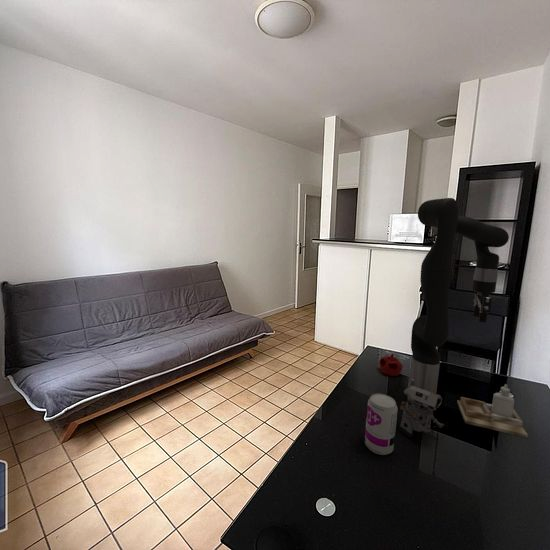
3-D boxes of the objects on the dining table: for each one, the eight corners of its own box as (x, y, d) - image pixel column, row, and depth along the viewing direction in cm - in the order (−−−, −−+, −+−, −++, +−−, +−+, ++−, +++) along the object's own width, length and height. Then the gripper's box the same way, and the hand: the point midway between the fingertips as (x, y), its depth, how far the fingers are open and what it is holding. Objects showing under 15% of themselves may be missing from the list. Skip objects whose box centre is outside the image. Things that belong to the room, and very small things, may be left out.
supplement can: (375, 459, 81) (379, 410, 79) (359, 438, 89) (362, 394, 86) (399, 454, 83) (404, 406, 81) (381, 434, 91) (386, 390, 89)
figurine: (426, 451, 85) (432, 404, 82) (395, 427, 95) (399, 385, 92) (446, 441, 89) (452, 397, 86) (413, 419, 99) (418, 379, 96)
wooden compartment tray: (465, 423, 98) (466, 415, 97) (457, 402, 110) (458, 395, 109) (527, 437, 91) (528, 429, 91) (511, 414, 103) (512, 406, 103)
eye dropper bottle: (507, 423, 97) (512, 390, 95) (488, 413, 102) (493, 382, 100) (513, 419, 99) (519, 387, 97) (494, 410, 104) (499, 379, 102)
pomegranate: (385, 366, 139) (387, 347, 137) (405, 374, 131) (407, 354, 130) (374, 371, 132) (376, 352, 131) (395, 380, 125) (397, 360, 123)
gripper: (502, 283, 105) (496, 325, 108) (490, 277, 118) (484, 315, 121) (478, 281, 108) (472, 322, 111) (469, 276, 121) (464, 313, 124)
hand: (479, 319), depth 116 cm, fingers open, 8 cm apart
